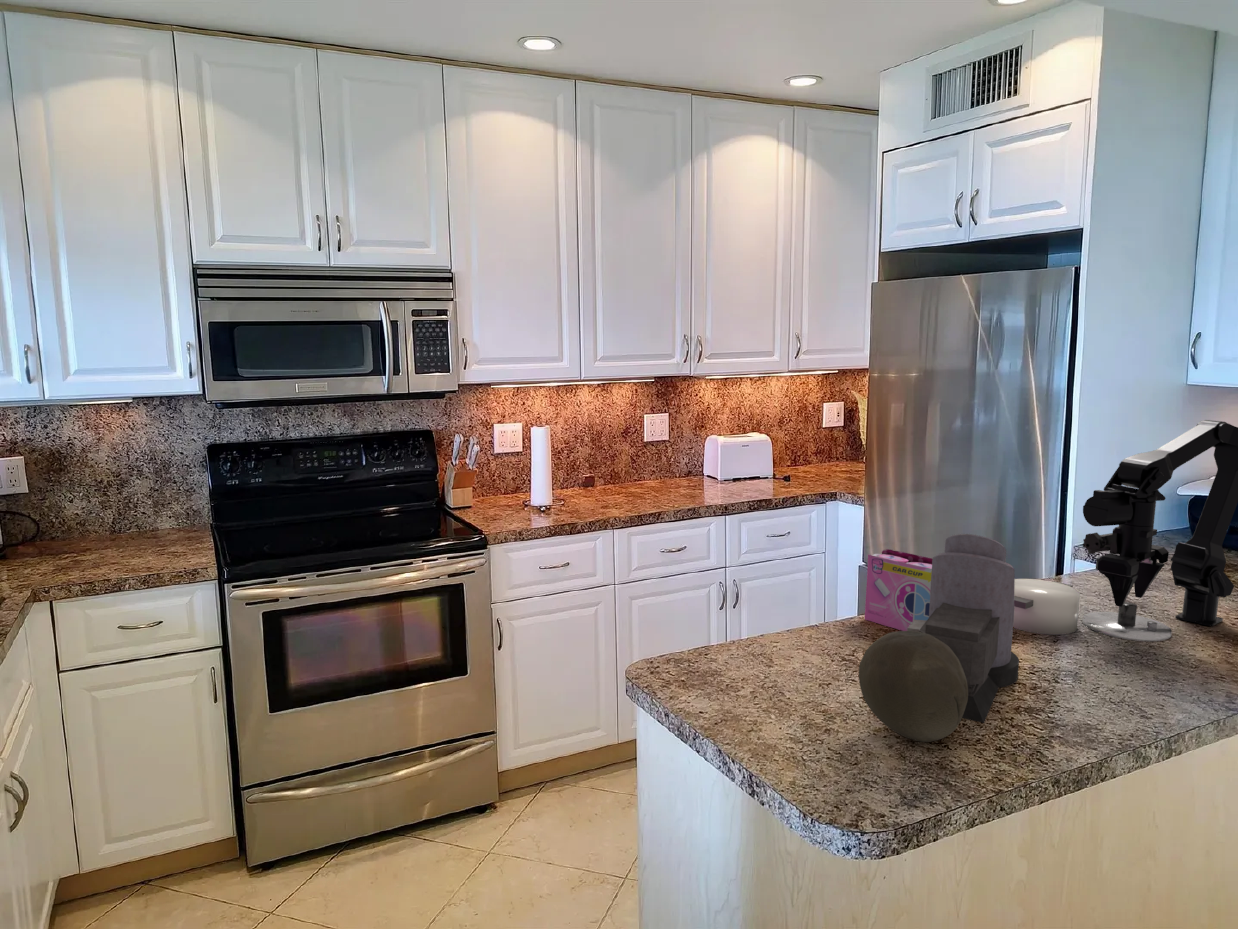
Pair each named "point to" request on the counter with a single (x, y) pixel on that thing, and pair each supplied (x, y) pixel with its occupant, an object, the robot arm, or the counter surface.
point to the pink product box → (897, 588)
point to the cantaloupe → (914, 685)
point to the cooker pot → (1045, 607)
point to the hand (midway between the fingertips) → (1128, 601)
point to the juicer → (974, 615)
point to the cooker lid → (1127, 624)
